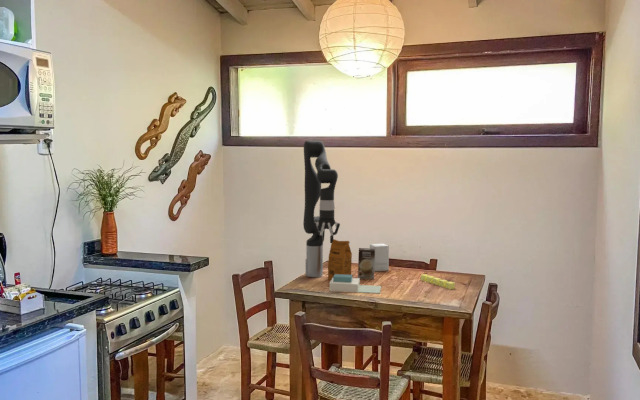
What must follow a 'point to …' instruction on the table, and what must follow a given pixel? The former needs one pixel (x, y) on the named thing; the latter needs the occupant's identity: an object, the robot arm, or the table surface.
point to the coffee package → (339, 259)
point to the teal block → (342, 278)
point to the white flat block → (345, 286)
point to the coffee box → (366, 263)
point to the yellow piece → (438, 281)
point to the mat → (369, 289)
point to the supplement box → (381, 257)
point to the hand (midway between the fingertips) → (326, 242)
